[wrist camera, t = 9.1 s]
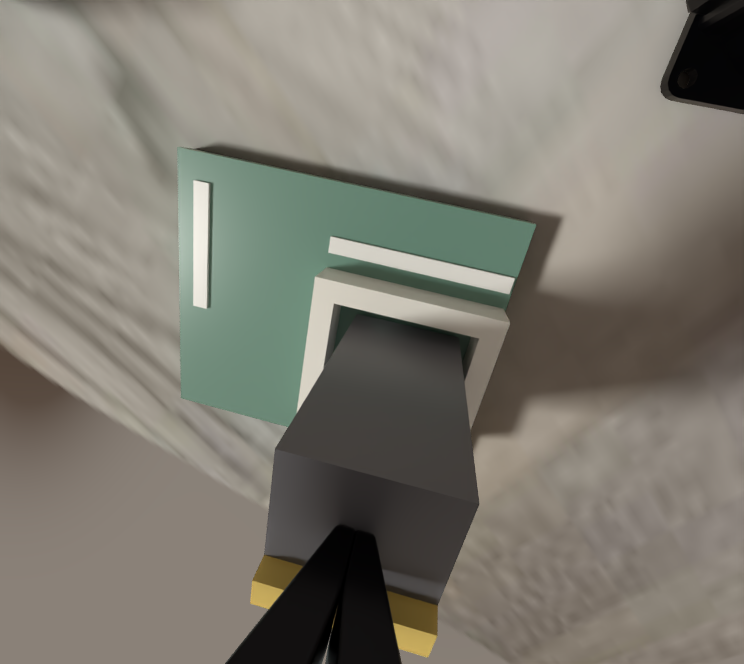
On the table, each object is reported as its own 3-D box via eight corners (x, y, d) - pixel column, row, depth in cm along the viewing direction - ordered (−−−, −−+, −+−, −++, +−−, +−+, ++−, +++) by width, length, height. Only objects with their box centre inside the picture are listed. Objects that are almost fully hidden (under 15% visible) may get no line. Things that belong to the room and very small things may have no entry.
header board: (530, 221, 14) (548, 230, 11) (447, 455, 18) (449, 495, 16) (193, 148, 15) (148, 143, 12) (193, 387, 19) (159, 416, 17)
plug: (458, 337, 14) (482, 531, 6) (432, 422, 16) (426, 660, 8) (350, 312, 15) (248, 467, 7) (336, 397, 16) (239, 603, 8)
